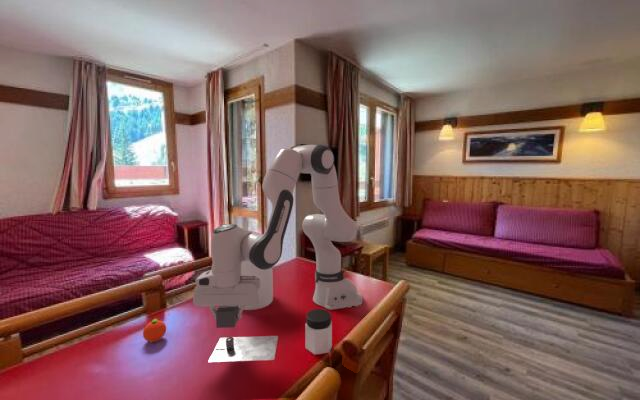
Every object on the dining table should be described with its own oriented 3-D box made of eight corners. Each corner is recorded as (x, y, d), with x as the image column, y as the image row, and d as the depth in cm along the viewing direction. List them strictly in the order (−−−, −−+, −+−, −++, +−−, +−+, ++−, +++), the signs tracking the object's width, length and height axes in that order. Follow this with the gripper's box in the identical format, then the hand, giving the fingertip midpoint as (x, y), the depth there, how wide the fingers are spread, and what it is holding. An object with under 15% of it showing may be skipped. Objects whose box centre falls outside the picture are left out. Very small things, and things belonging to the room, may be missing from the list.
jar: (307, 359, 85) (307, 323, 84) (303, 343, 93) (303, 310, 92) (335, 355, 87) (335, 320, 86) (328, 339, 95) (328, 307, 94)
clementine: (146, 335, 98) (144, 316, 97) (168, 330, 100) (166, 312, 100) (141, 348, 90) (140, 328, 90) (165, 343, 93) (164, 324, 92)
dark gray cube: (239, 317, 90) (238, 301, 90) (234, 327, 85) (234, 310, 84) (222, 318, 90) (221, 302, 89) (216, 327, 84) (215, 310, 84)
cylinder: (276, 305, 119) (275, 243, 116) (235, 313, 113) (233, 247, 109) (269, 289, 135) (267, 234, 132) (232, 295, 128) (230, 237, 125)
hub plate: (278, 338, 96) (278, 327, 95) (274, 363, 84) (273, 350, 83) (220, 340, 95) (219, 328, 94) (208, 365, 83) (207, 352, 82)
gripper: (261, 272, 89) (262, 312, 91) (198, 272, 88) (199, 313, 90) (258, 279, 83) (259, 322, 85) (189, 280, 82) (191, 323, 84)
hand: (228, 317), depth 87 cm, fingers closed on dark gray cube, 6 cm apart
